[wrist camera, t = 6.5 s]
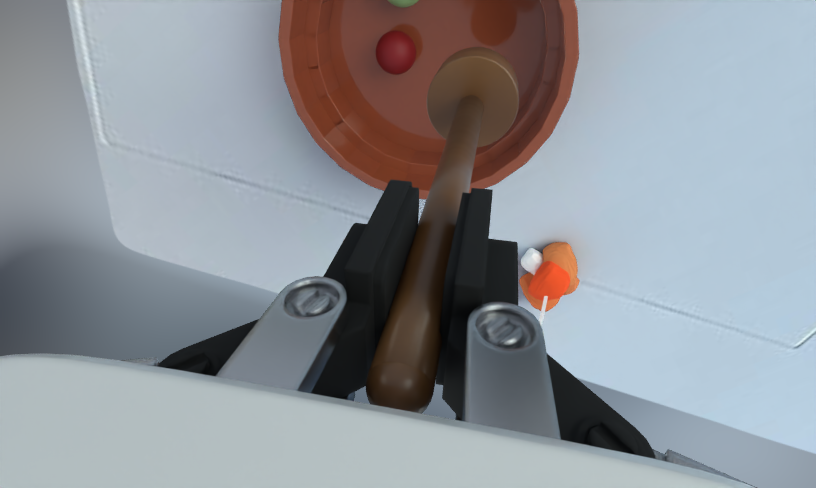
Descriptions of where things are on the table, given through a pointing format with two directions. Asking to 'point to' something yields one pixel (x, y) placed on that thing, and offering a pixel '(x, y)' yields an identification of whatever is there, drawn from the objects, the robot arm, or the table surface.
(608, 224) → the table surface
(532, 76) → the bowl
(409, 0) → the green bead
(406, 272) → the wooden masher
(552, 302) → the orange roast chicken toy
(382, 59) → the red bead
